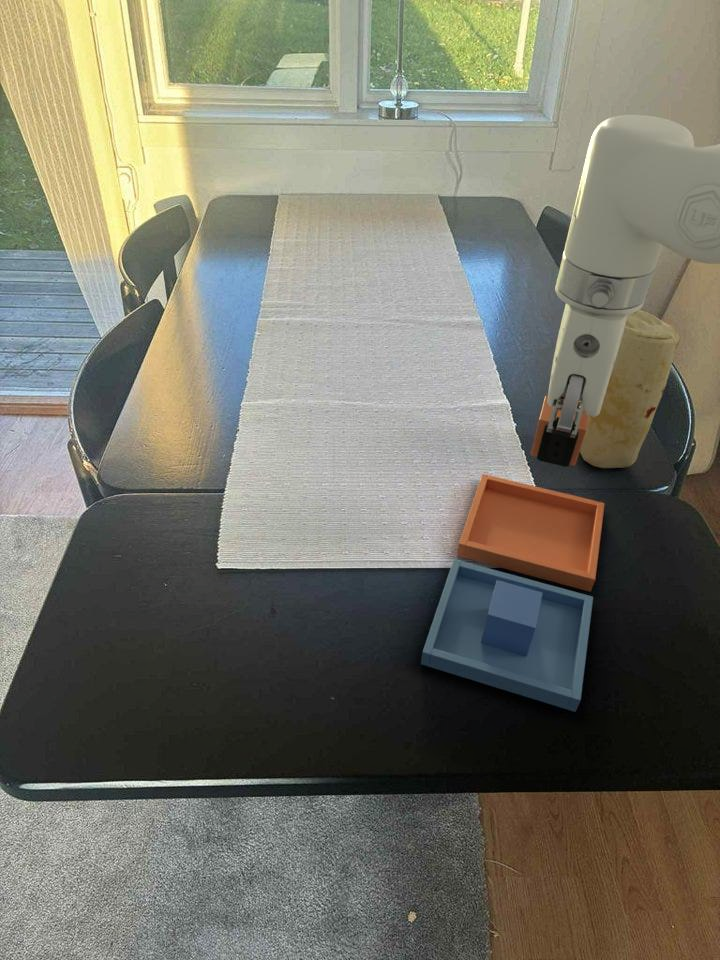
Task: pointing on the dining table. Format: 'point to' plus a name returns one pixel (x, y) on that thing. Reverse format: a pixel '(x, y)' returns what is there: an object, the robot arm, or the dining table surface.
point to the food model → (631, 392)
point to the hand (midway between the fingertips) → (556, 445)
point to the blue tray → (538, 675)
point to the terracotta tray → (534, 532)
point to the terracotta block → (545, 421)
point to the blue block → (512, 618)
